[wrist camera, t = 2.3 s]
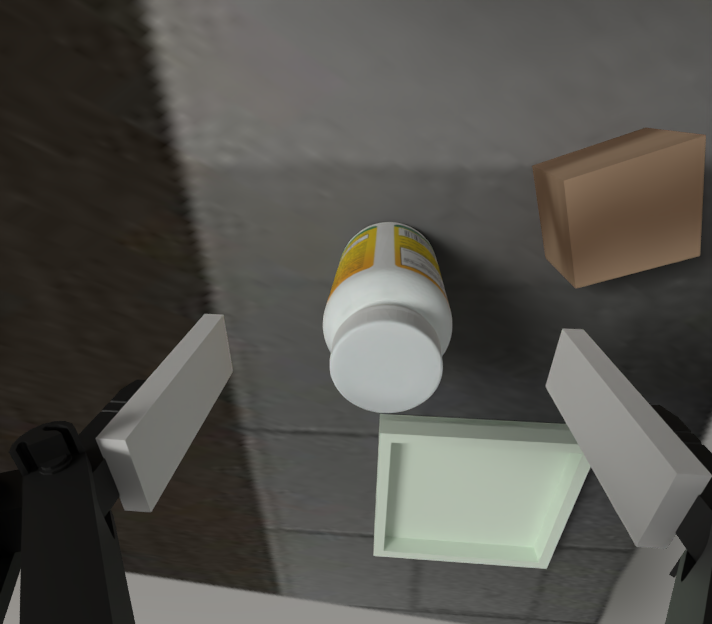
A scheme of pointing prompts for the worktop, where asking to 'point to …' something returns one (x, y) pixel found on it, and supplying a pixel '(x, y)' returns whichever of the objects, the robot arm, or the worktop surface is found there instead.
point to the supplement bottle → (387, 319)
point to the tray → (474, 489)
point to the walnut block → (622, 205)
